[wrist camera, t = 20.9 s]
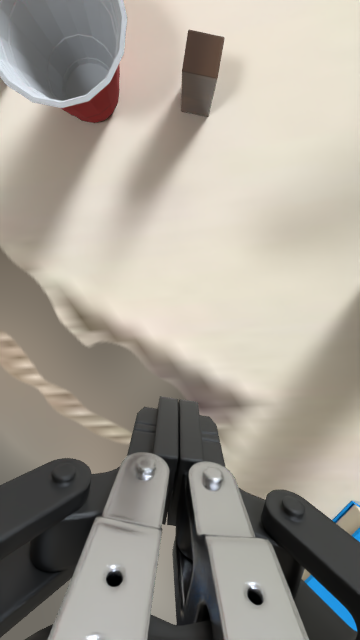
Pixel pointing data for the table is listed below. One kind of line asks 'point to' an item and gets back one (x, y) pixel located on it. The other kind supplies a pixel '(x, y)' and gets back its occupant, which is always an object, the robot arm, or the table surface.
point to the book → (356, 524)
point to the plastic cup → (64, 53)
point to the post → (200, 71)
